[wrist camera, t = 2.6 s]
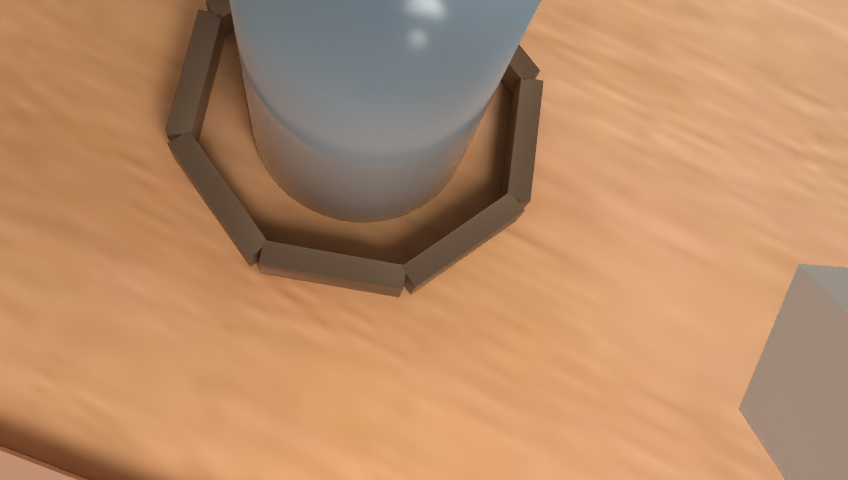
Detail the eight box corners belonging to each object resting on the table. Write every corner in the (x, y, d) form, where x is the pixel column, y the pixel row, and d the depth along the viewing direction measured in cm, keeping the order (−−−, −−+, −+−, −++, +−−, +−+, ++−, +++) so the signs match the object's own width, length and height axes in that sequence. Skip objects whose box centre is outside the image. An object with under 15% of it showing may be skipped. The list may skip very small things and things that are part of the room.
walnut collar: (594, 165, 28) (606, 153, 26) (316, 360, 24) (316, 356, 23) (398, -79, 29) (402, -101, 28) (113, 71, 26) (104, 53, 25)
